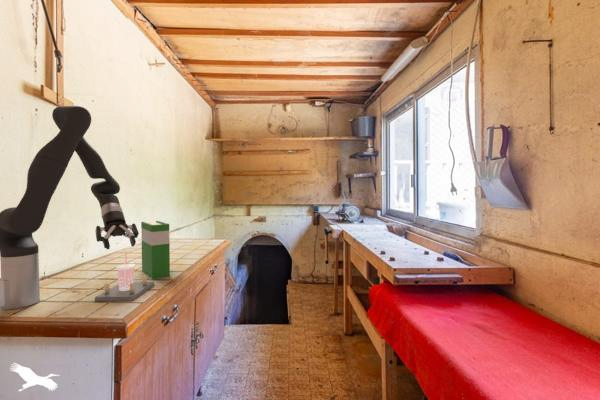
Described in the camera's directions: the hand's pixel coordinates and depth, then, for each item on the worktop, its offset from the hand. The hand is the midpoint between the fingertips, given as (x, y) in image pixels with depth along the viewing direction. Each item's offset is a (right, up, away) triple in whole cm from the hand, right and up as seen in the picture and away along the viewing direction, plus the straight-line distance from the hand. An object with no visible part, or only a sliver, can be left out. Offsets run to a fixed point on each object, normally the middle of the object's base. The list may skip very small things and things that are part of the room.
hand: (121, 246), depth 109 cm
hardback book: (+2, -17, +22) cm, 28 cm away
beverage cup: (+4, -16, -3) cm, 17 cm away
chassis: (+4, -17, -3) cm, 18 cm away
